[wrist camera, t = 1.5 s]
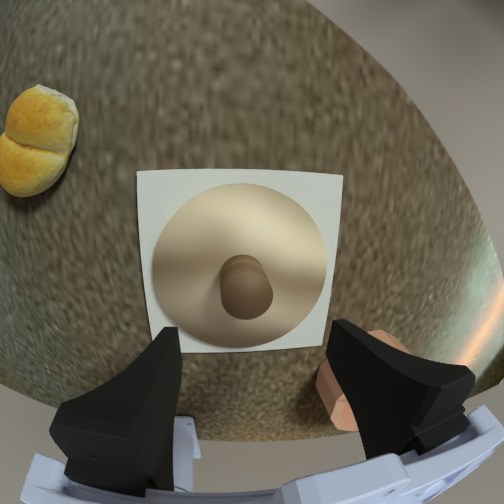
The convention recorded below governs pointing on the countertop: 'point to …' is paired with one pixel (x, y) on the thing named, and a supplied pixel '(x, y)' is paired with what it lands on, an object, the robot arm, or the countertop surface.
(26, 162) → the bread roll
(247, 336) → the lid
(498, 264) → the countertop surface
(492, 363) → the countertop surface
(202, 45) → the countertop surface
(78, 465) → the robot arm
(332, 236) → the mat
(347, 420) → the bowl
